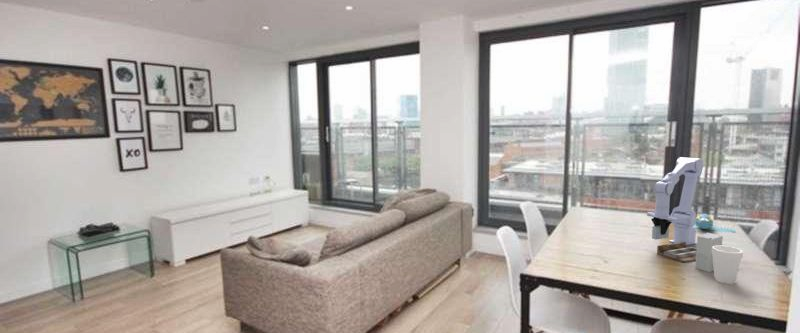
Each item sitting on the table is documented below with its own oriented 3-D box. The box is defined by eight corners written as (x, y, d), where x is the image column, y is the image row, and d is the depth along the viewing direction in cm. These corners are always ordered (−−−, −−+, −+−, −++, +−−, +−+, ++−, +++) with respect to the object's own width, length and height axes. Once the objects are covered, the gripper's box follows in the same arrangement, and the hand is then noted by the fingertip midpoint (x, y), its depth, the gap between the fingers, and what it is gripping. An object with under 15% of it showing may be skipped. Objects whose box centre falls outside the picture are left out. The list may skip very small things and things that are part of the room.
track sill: (683, 249, 194) (684, 241, 194) (711, 257, 182) (711, 249, 181) (657, 253, 189) (657, 245, 189) (683, 262, 177) (683, 254, 177)
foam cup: (703, 276, 162) (706, 246, 160) (724, 275, 163) (727, 244, 161) (724, 286, 153) (727, 253, 151) (746, 284, 153) (749, 252, 152)
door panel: (664, 236, 195) (665, 224, 194) (668, 237, 193) (669, 225, 193) (652, 238, 193) (652, 226, 192) (655, 239, 191) (656, 227, 190)
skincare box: (705, 264, 174) (707, 232, 172) (721, 269, 169) (723, 235, 167) (694, 268, 171) (696, 235, 169) (710, 273, 165) (712, 238, 163)
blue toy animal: (736, 214, 223) (737, 221, 211) (735, 229, 224) (736, 236, 212) (676, 208, 240) (674, 214, 228) (675, 222, 241) (673, 229, 230)
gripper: (642, 204, 197) (641, 230, 199) (669, 210, 183) (668, 238, 185) (653, 202, 199) (652, 229, 201) (681, 209, 185) (679, 237, 187)
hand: (660, 233), depth 193 cm, fingers closed on door panel, 2 cm apart
